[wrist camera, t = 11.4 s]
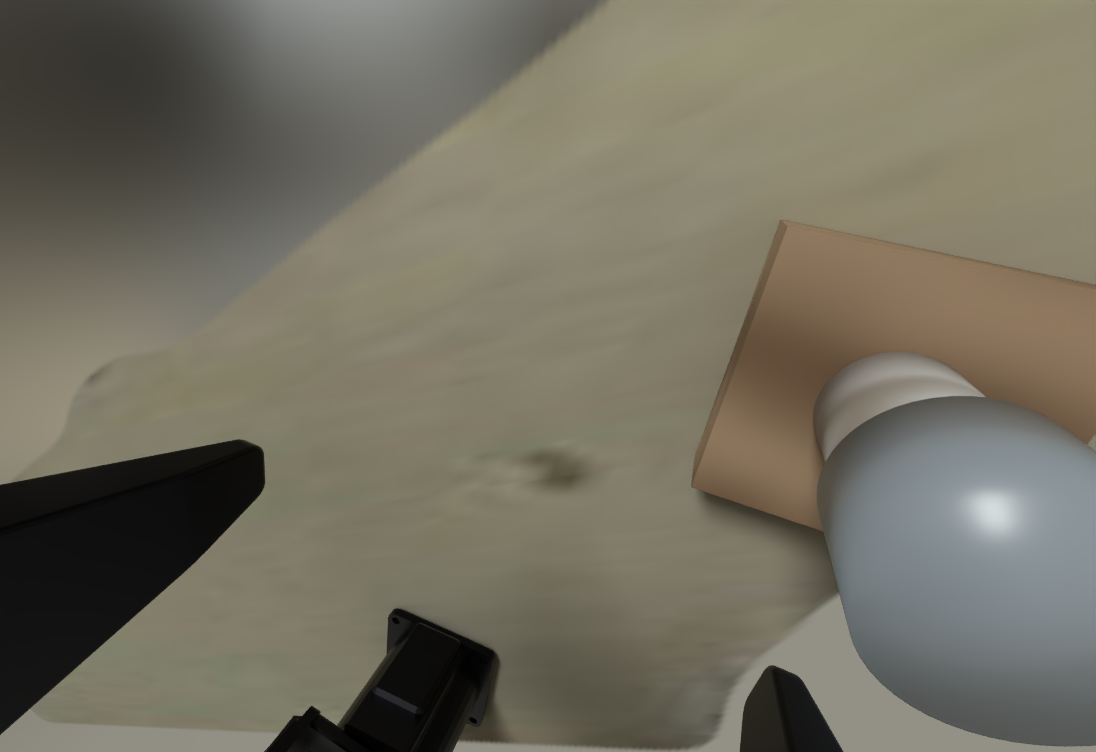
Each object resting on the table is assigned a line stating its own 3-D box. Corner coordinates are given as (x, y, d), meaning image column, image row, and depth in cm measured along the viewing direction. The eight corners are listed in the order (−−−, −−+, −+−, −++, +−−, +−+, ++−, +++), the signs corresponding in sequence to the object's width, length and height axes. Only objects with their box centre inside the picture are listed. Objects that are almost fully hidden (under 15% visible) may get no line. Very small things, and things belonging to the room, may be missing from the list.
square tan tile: (953, 541, 17) (1057, 711, 12) (694, 458, 19) (681, 570, 14) (1128, 292, 13) (1402, 374, 8) (780, 219, 15) (809, 247, 10)
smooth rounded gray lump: (834, 593, 13) (869, 730, 9) (798, 417, 11) (824, 510, 8) (1102, 590, 10) (1256, 763, 7) (1096, 374, 9) (1280, 476, 6)
